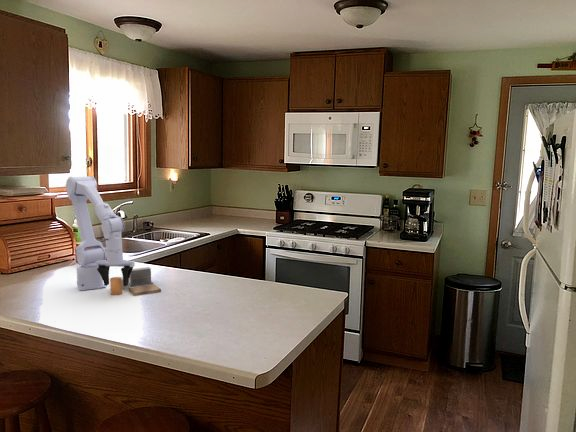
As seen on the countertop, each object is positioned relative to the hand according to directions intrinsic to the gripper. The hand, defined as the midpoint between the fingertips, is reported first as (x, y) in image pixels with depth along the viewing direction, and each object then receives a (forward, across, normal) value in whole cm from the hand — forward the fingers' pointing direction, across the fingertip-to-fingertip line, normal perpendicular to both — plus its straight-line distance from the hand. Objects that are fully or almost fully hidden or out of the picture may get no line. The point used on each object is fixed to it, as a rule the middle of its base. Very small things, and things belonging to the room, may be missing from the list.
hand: (116, 285), depth 180 cm
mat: (+3, -9, -5) cm, 11 cm away
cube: (+3, +1, -7) cm, 7 cm away
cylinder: (+3, 0, 0) cm, 3 cm away
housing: (+3, -3, -14) cm, 15 cm away
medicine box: (+3, +39, -49) cm, 63 cm away
